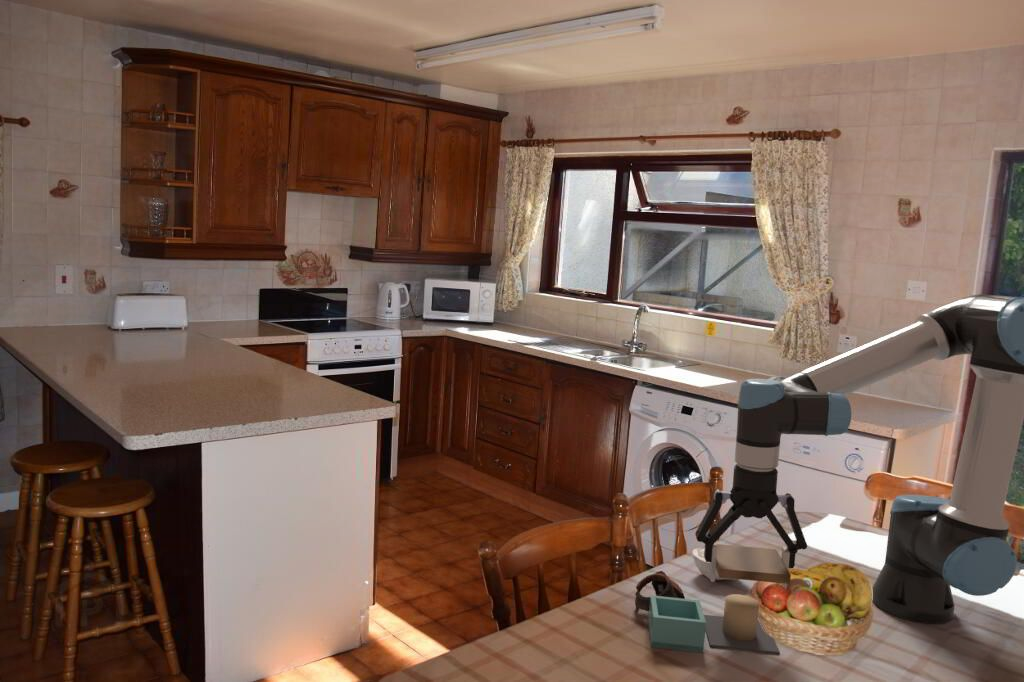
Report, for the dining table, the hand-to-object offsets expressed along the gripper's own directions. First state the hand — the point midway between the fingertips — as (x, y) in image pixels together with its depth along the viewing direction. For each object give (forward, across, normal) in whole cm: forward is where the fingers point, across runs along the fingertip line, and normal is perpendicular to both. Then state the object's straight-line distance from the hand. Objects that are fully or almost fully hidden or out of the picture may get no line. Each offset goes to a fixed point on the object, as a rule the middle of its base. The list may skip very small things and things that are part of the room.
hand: (747, 581), depth 148 cm
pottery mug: (+10, +14, -7) cm, 19 cm away
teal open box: (+10, +13, +4) cm, 17 cm away
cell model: (+11, +1, -26) cm, 28 cm away
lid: (-3, 0, 0) cm, 3 cm away
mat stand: (+10, +1, 0) cm, 10 cm away
